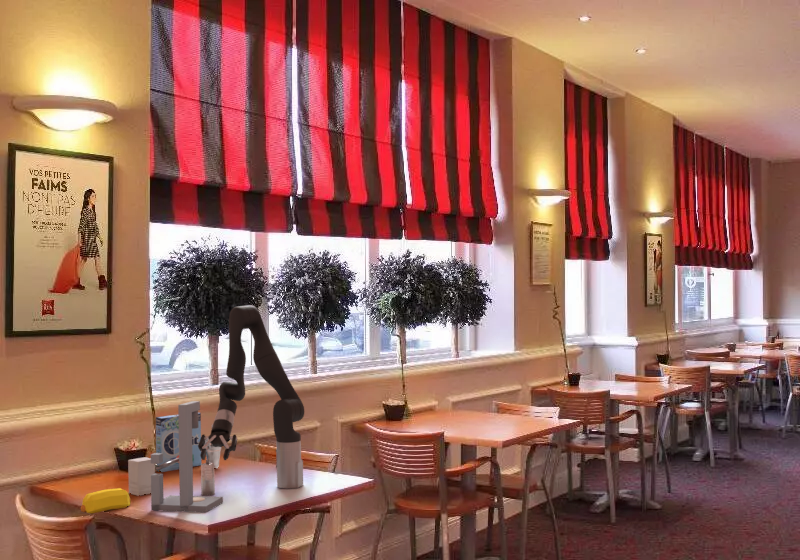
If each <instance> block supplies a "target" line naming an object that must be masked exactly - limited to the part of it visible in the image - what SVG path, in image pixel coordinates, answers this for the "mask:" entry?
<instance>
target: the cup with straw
mask: <svg viewBox="0 0 800 560" xmlns="http://www.w3.org/2000/svg"><path fill="white" fill-rule="evenodd" d="M212 426H213V423H211V427H212ZM207 441H209V439H208V440H207ZM205 444H206V442H205ZM205 444H204V445H205ZM210 445H211V443H210ZM221 450H222V447H212V448H211V449H209V450H208V451H207V453H206V457H205V458H206V460H209V463H214V468H216V469H219V468H218V467H219V466H220V457H221Z"/></svg>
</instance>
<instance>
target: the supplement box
mask: <svg viewBox="0 0 800 560" xmlns="http://www.w3.org/2000/svg"><path fill="white" fill-rule="evenodd" d="M127 463H128V466H127V468H128V470H127V472H128V493H129V494H130V493H131V495H134V496H137V497H139V495H140V496H145V495H144V494H146V495H151V494H150V493H151V475H153V474H156V470H155V467H156V464H151V457H150V458H149V457H147V456H146V457H137V458H133V459H132V458H131V459H128V460H127Z"/></svg>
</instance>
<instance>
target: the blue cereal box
mask: <svg viewBox="0 0 800 560" xmlns="http://www.w3.org/2000/svg"><path fill="white" fill-rule="evenodd" d="M201 419H202V416H201V412H198V428H193V429H192V457H193V467H198V466H199V467H200V466H201V464H203V463H202V461H203V460H202V459H201V456H200V455H201V451H200V450H199V448H198V445H199V442H200V439H201V436H202V426H201V425H202V421H201ZM155 453H163V462H162V463H159V464H157V465H161V464H163V463H166V462H168V461H171V460H173V459H176V457H177V456H178V455H179V419H178V414H172V415H170V414H169V415H164V416H155ZM176 470H179V463H175V464H173V465H171V466H168V467H166V468H163V469H161V470H160V471H161V472H160V473H165V472H170V471H176Z"/></svg>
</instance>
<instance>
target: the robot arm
mask: <svg viewBox="0 0 800 560" xmlns="http://www.w3.org/2000/svg"><path fill="white" fill-rule="evenodd" d="M228 317H229V318H228V339H229V340H228V342H229V343H228V344H229V347H228V348H229V351H228V359H227V367H226V373H225V374H226V376H227V377H228V378H230V379H232V380H234V382H233V381H229V380H228V381H223V382H221V383H220V384H219V387H218V394H219V397H218V398H219V404H218V408H217V412H216V414H215V417H214V420H213V423H212V424H213V426H212V425H211V431H210V434H209V435H206V434H203V433H202V434H201V439H200V442H199V445H198V448H199V450H200V451H201V455H200V456H201V460H202V461H206V458H207V457H206V453H207V451H208V450H209V449H211V448H212V447H221V448H223V447H224V452H223V453H224V454H223V455H222V457H223V461H227V460H228V459H229V457H230V454H231V452H235V451H237V450H236V449H237V444H238V436H237V434H233V435H232V431H233V428H234V427H233V426H234V422H235V417H236V412H237V408H238V405H237V403H236V402H240V401H242V400H244V398H245V397H246V387H245V386H246V385H245V369H246V362H247V357H246V352H245V349H244V347H243V344H242V343H243V342H242V333H243V330H247V329H248V330H249V332H250V333H251V336H252V339H253V341H254V345H253V354H252V355H253V356H252V357H253V363H254V365H255V367H256V369H257V372H258V373H259V375H260V377H261V378H262V379H263V380H264V381H265V382H266V383H267V384H268V385H269V386H271V387H272V389H274V390H275V391H276V393H277V394H278V396H279V398H280V399H279V400H277V401H276V402H275V403H274V406H273V409H272V410H273V411H272V420H273V432H274V435H275V438H276V444H275V445H276V449H277V468H276V485H277V488H279V489H298V488H300V487H302V486H303V485H304V460H303V459H302V441H301V437H302V436H301V435H302V434H301V432H299V431H296V430H295V429H294V423H295V422H299V421H301V420H303V418H304V416H305V406H304V404H303V402H302V399H301V398H300V397H299V395H298V392H297V391H296V389H295V388H294V386H293V385H292V383H291V381H290V378H289V377H288V375H287V373H286V371H285V369H284V366H283V365H282V363H281V360H280V358H279V356H278V354H277V352H276V351H275V348H274V346H273V343H272V341H271V339H270V337H269V335H268V333H267V330H266V326H265V324H264V320H263V318H262V316H261V313H260V311H259V309H258V308H257V307H256V306H255V305H251V304H250V305H249V304H248V305H240V306H239V305H238V306H235V307H233V308H232V309H231V310H230V312H229V316H228ZM235 401H236V402H235ZM208 439H209V441H207V440H208ZM230 441H231V444H230V445H229V444H228V443H229V442H230ZM205 442H206V444H205ZM210 443H211V445H210ZM204 444H205V445H204Z"/></svg>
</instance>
